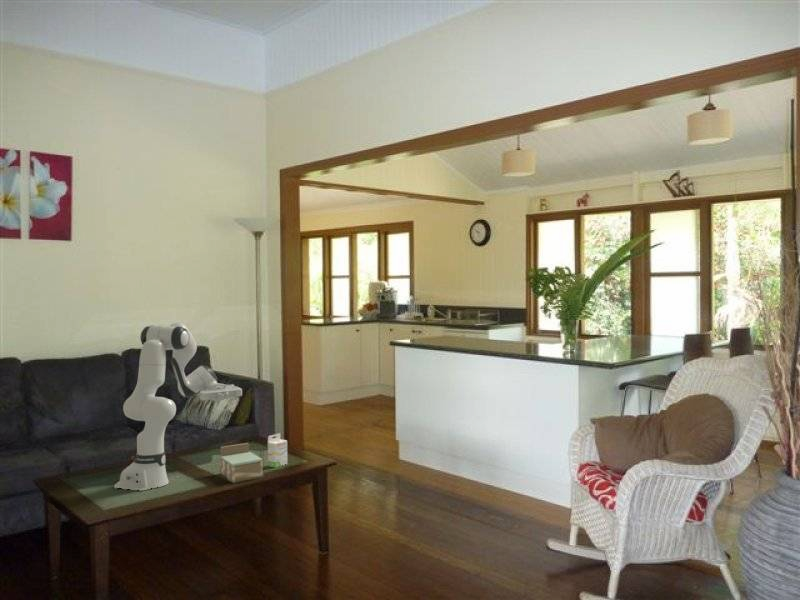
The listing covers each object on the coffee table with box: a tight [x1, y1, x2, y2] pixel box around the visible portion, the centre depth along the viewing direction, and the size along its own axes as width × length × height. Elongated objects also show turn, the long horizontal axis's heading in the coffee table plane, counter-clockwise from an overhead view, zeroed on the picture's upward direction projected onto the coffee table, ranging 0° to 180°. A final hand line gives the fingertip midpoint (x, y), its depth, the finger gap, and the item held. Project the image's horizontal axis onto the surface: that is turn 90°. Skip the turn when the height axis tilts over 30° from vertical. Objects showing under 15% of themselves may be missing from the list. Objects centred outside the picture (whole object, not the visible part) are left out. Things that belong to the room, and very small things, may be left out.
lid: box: [219, 442, 264, 466], centre depth 299 cm, size 18×14×5 cm
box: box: [219, 457, 264, 484], centre depth 300 cm, size 18×14×7 cm
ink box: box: [267, 432, 288, 469], centre depth 315 cm, size 9×5×15 cm, turn 143°
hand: (225, 395), depth 315 cm, fingers closed
